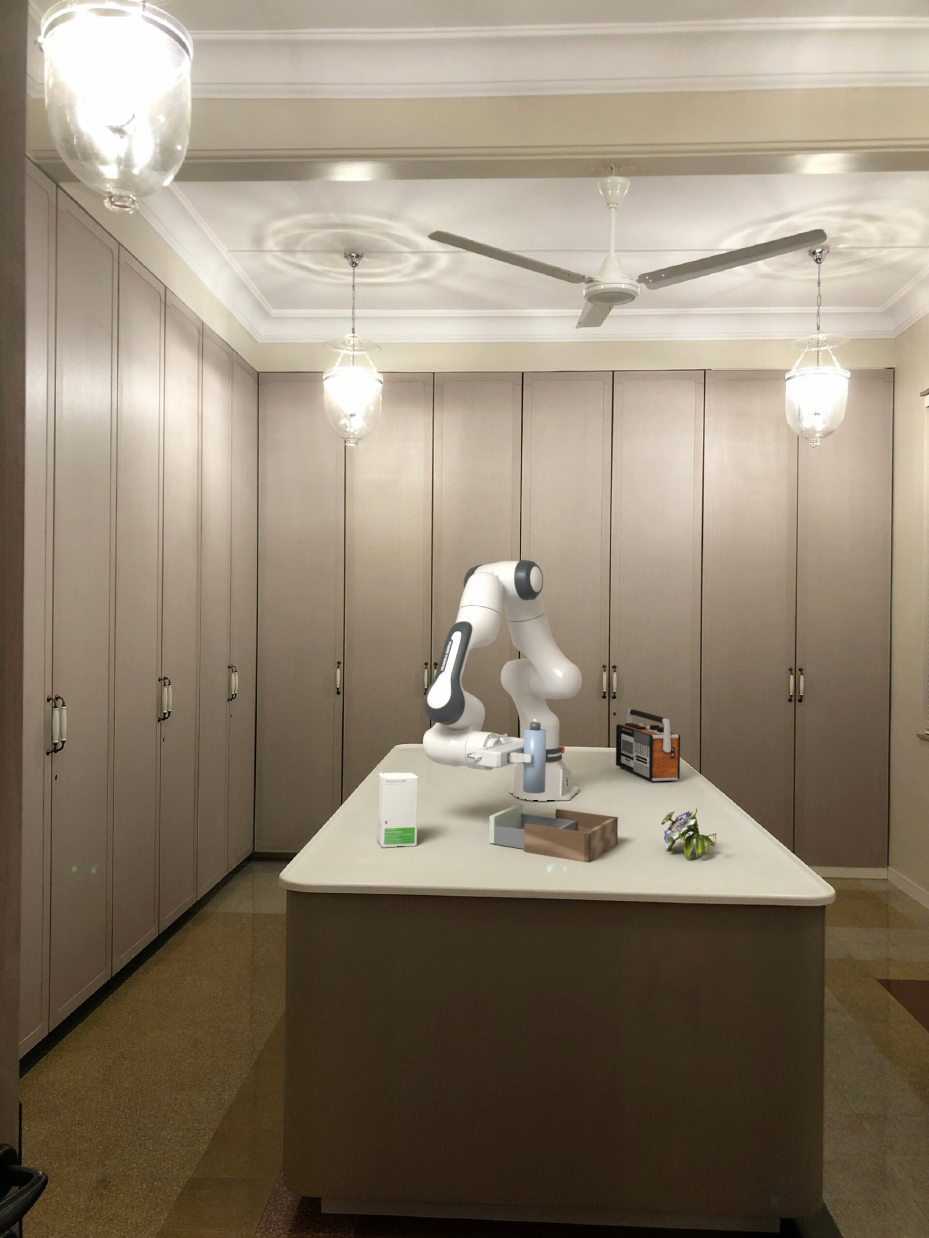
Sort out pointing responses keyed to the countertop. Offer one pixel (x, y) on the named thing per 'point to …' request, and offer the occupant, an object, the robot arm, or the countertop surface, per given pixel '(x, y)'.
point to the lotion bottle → (535, 759)
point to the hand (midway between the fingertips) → (538, 756)
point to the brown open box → (573, 836)
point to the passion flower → (681, 829)
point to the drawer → (520, 825)
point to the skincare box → (397, 809)
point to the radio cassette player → (648, 748)
